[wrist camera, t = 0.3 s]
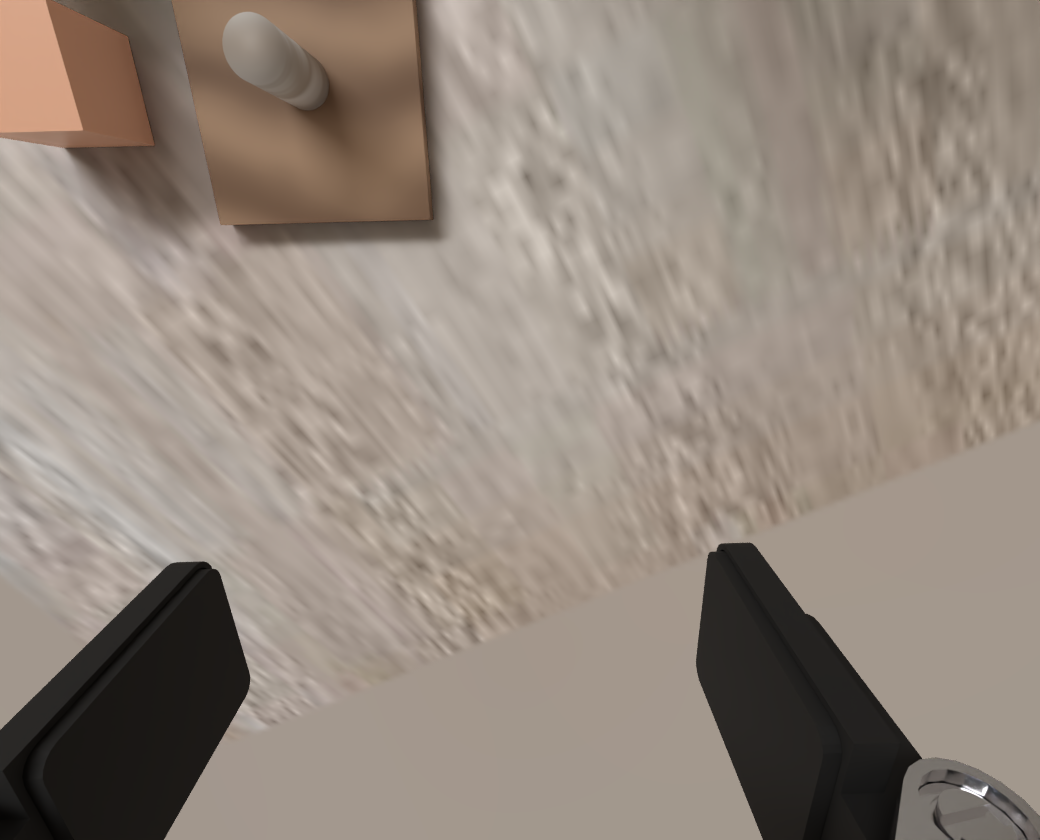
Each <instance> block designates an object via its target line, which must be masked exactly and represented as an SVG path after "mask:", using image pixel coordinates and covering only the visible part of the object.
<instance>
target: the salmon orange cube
mask: <svg viewBox="0 0 1040 840" xmlns="http://www.w3.org/2000/svg"><path fill="white" fill-rule="evenodd" d="M0 137H1V138H7V139H13V140H19V141H25V142H31V143H37V144H43V145H49V146H55V147H62V148H81V147H119V146H155V144H154V140H153V136H152V132H151V128H150V124H149V120H148V116H147V112H146V108H145V104H144V100H143V96H142V92H141V88H140V84H139V80H138V76H137V72H136V68H135V64H134V60H133V56H132V52H131V48H130V44H129V40H128V36H126V35H124V34H121V33H119V32H117V31H115V30H113V29H111V28H109V27H107V26H105V25H103V24H100V23H98V22H96V21H94V20H92V19H90V18H88V17H86V16H84V15H82V14H80V13H77V12H75V11H73V10H71V9H69V8H67V7H65V6H63V5H61V4H59V3H56V2H54V1H52V0H0Z"/></svg>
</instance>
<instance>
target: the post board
mask: <svg viewBox="0 0 1040 840" xmlns="http://www.w3.org/2000/svg"><path fill="white" fill-rule="evenodd" d="M172 5H173V9H174V14H175V19H176V23H177V28H178V32H179V37H180V41H181V46H182V51H183V55H184V60H185V64H186V69H187V73H188V78H189V83H190V87H191V92H192V96H193V101H194V105H195V110H196V115H197V119H198V124H199V128H200V133H201V137H202V142H203V147H204V151H205V156H206V160H207V165H208V169H209V174H210V179H211V183H212V188H213V192H214V197H215V201H216V206H217V211H218V215H219V220H220V224H221V225H248V224H287V223H326V222H364V221H403V220H433V208H432V196H431V183H430V170H429V158H428V145H427V132H426V120H425V107H424V95H423V82H422V69H421V57H420V44H419V31H418V19H417V6H416V0H172Z"/></svg>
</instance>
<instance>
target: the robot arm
mask: <svg viewBox="0 0 1040 840" xmlns="http://www.w3.org/2000/svg"><path fill="white" fill-rule="evenodd" d="M696 667H697V673H698V677H699V681H700V683H701V686H702V688H703V691H704V693H705V696H706V698H707V701H708V703H709V706H710V708H711V711H712V713H713V716H714V718H715V721H716V723H717V726H718V728H719V730H720V733H721V736H722V738H723V741H724V743H725V746H726V748H727V750H728V753H729V756H730V758H731V760H732V763H733V766H734V768H735V770H736V773H737V776H738V778H739V781H740V783H741V786H742V788H743V791H744V793H745V796H746V798H747V801H748V803H749V806H750V808H751V811H752V813H753V816H754V818H755V821H756V823H757V826H758V828H759V831H760V833H761V836H762V838H763V840H1040V816H1039V815H1038V814H1037V813H1036V812H1035V811H1034V810H1033V809H1032V808H1031V807H1030V805H1029V804H1028V803H1027V802H1026V801H1025V800H1024V799H1022V798H1021V797H1020V796H1019V795H1017V794H1016V793H1015V792H1013V791H1012V790H1011V789H1009V788H1008V787H1007V786H1005V785H1004V784H1003V783H1001V782H1000V781H998V780H996V779H995V778H993V777H991V776H989V775H988V774H986V773H984V772H982V771H981V770H979V769H976V768H974V767H971V766H968V765H966V764H963V763H960V762H957V761H954V760H948V759H942V758H928V759H922V758H921V756H920V755H919V754H918V752H917V751H916V750H915V748H914V747H913V746H912V745H911V743H910V742H909V741H908V739H907V738H906V737H905V735H904V734H903V733H902V731H901V730H900V729H899V728H898V726H897V725H896V724H895V723H894V721H893V719H892V718H891V717H890V716H889V714H888V713H887V712H886V710H885V709H884V708H883V707H882V705H881V704H880V702H879V701H878V700H877V698H876V697H875V696H874V695H873V693H872V692H871V690H870V689H869V688H868V687H867V685H866V684H865V683H864V681H863V680H862V679H861V677H860V676H859V675H858V673H857V672H856V671H855V669H854V668H853V667H852V665H851V664H850V663H849V661H848V660H847V659H846V657H845V656H844V655H843V654H842V652H841V651H840V650H839V648H838V647H837V646H836V644H835V643H834V642H833V640H832V639H831V638H830V636H829V635H828V634H827V632H826V631H825V630H824V628H823V627H822V626H821V625H820V623H819V622H818V621H817V620H816V619H815V618H814V617H812V616H810V615H808V614H805V613H804V611H803V610H802V609H801V607H800V606H799V605H798V603H797V602H796V601H795V599H794V598H793V597H792V595H791V594H790V592H789V591H788V590H787V588H786V587H785V586H784V584H783V583H782V582H781V580H780V579H779V578H778V576H777V575H776V574H775V572H774V571H773V570H772V568H771V567H770V566H769V564H768V563H767V562H766V560H765V559H764V557H763V556H762V555H761V553H760V552H759V551H758V549H757V548H756V547H755V546H754V545H753V544H752V543H725V544H720V545H719V546H718V548H717V552H710V553H709V555H708V559H707V568H706V577H705V586H704V595H703V604H702V612H701V621H700V630H699V639H698V648H697V658H696ZM249 685H250V674H249V670H248V667H247V663H246V660H245V657H244V653H243V650H242V646H241V643H240V640H239V636H238V633H237V630H236V626H235V623H234V619H233V616H232V613H231V609H230V606H229V603H228V599H227V596H226V593H225V589H224V586H223V582H222V579H221V576H220V574H219V572H218V571H217V570H216V569H212V567H211V565H209V564H208V563H207V562H176V563H172V564H170V565H169V566H167V567H166V568H165V569H164V570H163V571H162V572H161V573H160V574H159V575H158V576H157V577H156V578H155V579H154V580H153V581H152V582H151V583H150V584H149V585H148V586H147V587H146V588H145V589H144V590H142V591H141V592H140V593H139V594H138V595H137V596H136V597H135V598H134V599H133V600H132V601H131V602H130V603H129V604H128V605H127V606H126V607H125V608H124V609H123V610H122V611H121V612H120V613H119V614H118V615H117V616H116V617H115V618H114V619H113V620H112V621H111V622H110V623H109V624H108V625H107V626H106V627H105V628H104V629H103V630H102V631H101V632H100V633H99V634H98V635H97V636H96V637H95V638H94V639H93V640H92V641H90V642H89V643H88V644H87V645H86V646H85V647H84V648H83V649H82V650H81V651H80V652H79V653H78V654H77V655H76V656H75V657H74V658H73V659H72V660H71V661H70V662H69V663H68V664H67V665H66V666H65V667H64V668H63V669H62V670H61V671H60V672H59V673H58V674H57V675H56V676H55V677H54V678H53V679H52V680H51V681H50V682H49V683H48V684H47V685H46V686H45V687H44V688H43V689H42V690H41V691H40V692H39V693H38V694H37V695H35V697H33V698H32V699H31V700H30V701H29V702H28V703H27V704H26V705H25V706H24V707H23V708H22V709H21V710H20V711H19V712H18V713H17V714H16V715H15V716H14V717H13V718H12V719H11V720H10V721H9V722H8V723H7V724H6V725H5V726H4V727H3V728H2V729H1V730H0V840H164V838H165V837H166V835H167V833H168V831H169V829H170V828H171V826H172V824H173V823H174V821H175V819H176V817H177V816H178V814H179V812H180V810H181V809H182V807H183V805H184V803H185V802H186V800H187V798H188V796H189V795H190V793H191V791H192V789H193V788H194V786H195V784H196V782H197V781H198V779H199V777H200V775H201V774H202V772H203V770H204V769H205V767H206V765H207V763H208V762H209V760H210V758H211V756H212V754H213V753H214V751H215V749H216V748H217V746H218V744H219V742H220V741H221V739H222V737H223V735H224V734H225V732H226V730H227V728H228V727H229V725H230V723H231V721H232V720H233V718H234V716H235V714H236V713H237V711H238V709H239V707H240V706H241V704H242V702H243V700H244V699H245V697H246V695H247V693H248V689H249Z"/></svg>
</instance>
